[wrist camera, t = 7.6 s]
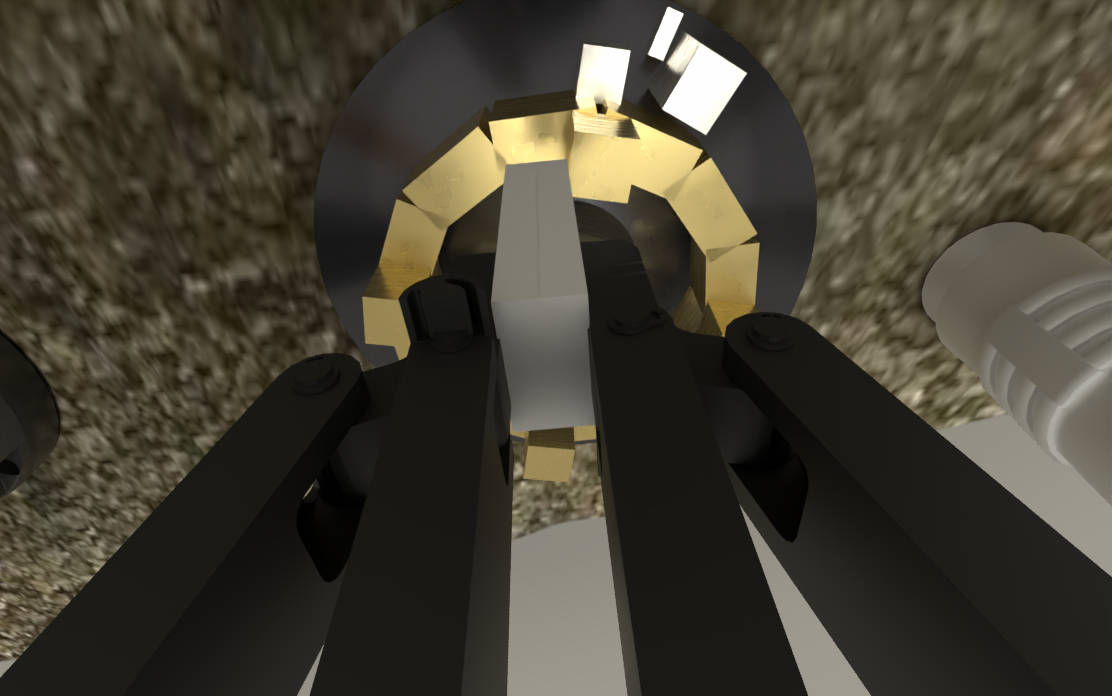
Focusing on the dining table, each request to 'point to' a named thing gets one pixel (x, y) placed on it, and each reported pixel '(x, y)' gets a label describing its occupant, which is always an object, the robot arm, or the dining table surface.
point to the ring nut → (595, 173)
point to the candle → (1034, 335)
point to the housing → (550, 66)
